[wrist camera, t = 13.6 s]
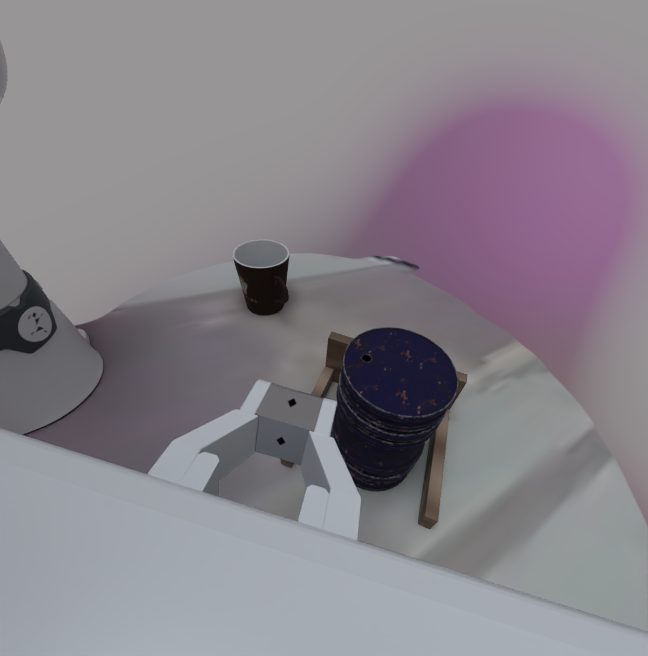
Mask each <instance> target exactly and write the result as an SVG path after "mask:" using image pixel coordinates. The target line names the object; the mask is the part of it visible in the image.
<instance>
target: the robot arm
mask: <svg viewBox="0 0 648 656" xmlns="http://www.w3.org/2000/svg"><path fill="white" fill-rule="evenodd" d="M6 86H7V64H6V58H5V55H4V51H3V47H2V44H1V42H0V103H1V101H2V99H3V97H4V93H5V90H6ZM102 372H103V360H102V358H101V356H100V354H99V353H98V352H97V351H96V350H95V349H94V348H93V347H92V346H91V345H90V340H89V336H88V334H87V333H86V332H85V331H84V330H82V329H76V327H75V326H74V325H73V324H72V323H71V322H70V320H69V319H68V318H67V317H66V316H65V315H64V314H63V312H61V310H60V309H59V308H58V307H57V306H56V305H55V304H54V303H53V301H51V300H49V299H48V298H47V296H46V295H45V294H44V292H43V291H42V287H41V286H40V285H39V283H38V282H37V281H36V280H34V279H33V277H32V276H31V275H30V274H29V273H28V272H26V271H24V270H22V269H21V268H20V267H19V265H18V264H17V263H16V261H15V260H14V258H13V257H12V256H11V254H10V253H9V251H8V250H7V249H6V247H5V246H4V244H3V243H2V242H1V241H0V656H648V632H647V631H644V630H641V629H638V628H635V627H631V626H628V625H625V624H622V623H619V622H615V621H612V620H609V619H606V618H603V617H599V616H596V615H593V614H590V613H587V612H584V611H580V610H577V609H574V608H571V607H568V606H564V605H561V604H558V603H555V602H552V601H549V600H545V599H542V598H539V597H536V596H533V595H529V594H526V593H523V592H520V591H517V590H514V589H510V588H507V587H504V586H501V585H498V584H494V583H491V582H488V581H485V580H482V579H479V578H475V577H472V576H469V575H466V574H463V573H460V572H456V571H453V570H450V569H447V568H444V567H440V566H437V565H434V564H431V563H428V562H425V561H421V560H418V559H415V558H412V557H409V556H406V555H402V554H399V553H396V552H393V551H390V550H386V549H383V548H380V547H377V546H374V545H371V544H367V543H364V542H361V541H358V540H357V536H358V526H359V515H360V504H361V497H360V495H359V493H358V491H357V488H356V486H355V484H354V482H353V480H352V477H351V475H350V473H349V471H348V469H347V466H346V464H345V462H344V460H343V457H342V455H341V453H340V451H339V449H338V446H337V444H336V442H335V440H334V438H332V437H330V433H331V429H332V424H333V420H334V415H335V411H336V406H337V401H334V400H330V399H326V398H324V399H323V398H322V397H319V396H315V395H311V394H308V393H304V392H300V391H296V390H293V389H290V388H287V387H284V386H280V385H277V384H274V383H270V382H266V381H263V380H260V379H259V380H258V381H257V382H256V383H255V385H254V386H253V388H252V390H251V391H250V393H249V395H248V396H247V398H246V400H245V401H244V403H243V405H242V406H241V408H240V410H237V409H235V410H233V411H231V412H229V413H227V414H225V415H223V416H221V417H219V418H217V419H215V420H213V421H211V422H209V423H207V424H205V425H203V426H201V427H199V428H197V429H195V430H193V431H191V432H189V433H187V434H185V435H183V436H181V437H179V438H177V439H175V440H173V441H172V442H171V444H170V445H169V446H168V448H167V449H166V450H165V451H164V453H163V454H162V455H161V457H160V458H159V459H158V461H157V462H156V463H155V464H154V466H153V467H152V468H151V470H150V471H149V472H148V474H145V473H142V472H138V471H135V470H132V469H129V468H126V467H123V466H119V465H116V464H113V463H110V462H107V461H103V460H100V459H97V458H94V457H91V456H88V455H84V454H81V453H78V452H75V451H72V450H69V449H65V448H62V447H59V446H56V445H53V444H50V443H46V442H43V441H40V440H37V439H34V438H30V437H27V436H24V435H23V434H25V433H28V432H30V431H33V430H36V429H38V428H41V427H43V426H45V425H47V424H50V423H51V422H53V421H55V420H57V419H59V418H61V417H62V416H64V415H65V414H67V413H68V412H70V411H71V410H73V409H74V408H75V407H77V406H78V405H79V404H80V403H81V402H82V401H83V400H85V399H86V398H87V396H88V395H89V394H90V393H91V392H92V391H93V389H94V388H95V387H96V385H97V384H98V382H99V380H100V378H101V375H102ZM322 401H323V402H322ZM255 452H258V453H262V454H266V455H269V456H273V457H277V458H280V459H283V460H286V461H289V462H292V463H295V464H298V465H301V470H302V474H303V478H304V482H305V486H306V493H305V497H304V500H303V504H302V507H301V511H300V514H299V518H298V521H294V520H291V519H288V518H285V517H281V516H278V515H275V514H272V513H269V512H265V511H262V510H259V509H256V508H253V507H250V506H246V505H243V504H240V503H237V502H234V501H231V500H227V499H224V498H221V497H219V480H220V479H221V478H223V477H224V476H225V475H227V474H228V473H229V472H231V471H232V470H233V469H234V468H236V467H237V466H238V465H240V464H241V463H242V462H244V461H245V460H246V459H247V458H249V457H250V456H251V455H253V454H254V453H255Z"/></svg>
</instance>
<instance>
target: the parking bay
mask: <svg viewBox="0 0 648 656" xmlns="http://www.w3.org/2000/svg"><path fill="white" fill-rule="evenodd" d="M352 340H353V338H350V337H347V336H344V335H341V334H338V333H335V332H331V334H330V336H329V338H328V347H327V356H326V366H325V368H324V370H323V372H322V374H321V376H320V378H319V380H318V382H317V384H316V386H315V388H314V390H313V392H312V394H311V395H315V396H319V397H322V398H323V399H324V397H325V395H326V393H327V391H328V389H329V387H330V385H331V382H332V381H334V382H337V383H338V382H339V376H340V371H341V369H342V364H343V358H344V353H345V351H346V348H347V346H348V345H349V343H350V342H351V341H352ZM456 372H457V371H456ZM457 376H458V389H457V393H456V395H455V397H454V399H453V401H452V402H451V404H450V406H449V407H448V409H447V413H446V414H445V416H444V418H443V420H442V421H441V423H440V425H439V426H438V428H437V430H436V432H435V433H434V434H433V435H432V436H431V438H430V444H429V451H428V458H427V465H426V472H425V478H424V485H423V492H422V499H421V506H420V512H419V519H418V524H420V525H422V526H424V527H427V528H429V529H430V528H432V527H433V526H434V525H435V524H436V523H437V522H438V516H439V506H440V497H441V487H442V478H443V468H444V459H445V449H446V440H447V430H448V421H449V411H450V408H451V407H452V405H453V403H454V402H455V400H456V399H457V397H458V395H459V394H460V392H461V391H462V389H463V388H464V386H465V384H466V383H467V374H464V373H460V372H457ZM322 402H323V401H322ZM281 464H283V465H286V466H288V467H290V468H291V467H292V465H293V463H292V462H289V461H286V460H283V459H281Z"/></svg>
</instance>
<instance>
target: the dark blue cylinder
mask: <svg viewBox="0 0 648 656" xmlns="http://www.w3.org/2000/svg"><path fill="white" fill-rule="evenodd" d="M457 389H458V376H457V372H456V369H455V366H454V364H453V363H452V361H451V359H450V358H449V356H448V355H447V354H446V353H445V352H444V351H443V350H442V349H441V348H440V347H439V346H438V345H437V344H435V343H434V342H433V341H431V340H429V339H428V338H426V337H424V336H422V335H420V334H418V333H415V332H413V331H409V330H406V329H400V328H392V327H383V328H375V329H371V330H368V331H365V332H363V333H361V334H359V335H358V336H356V337H355V338H354V339H353V340H352V341H351V342H350V343H349V345H348V346H347V348H346V351H345V353H344V358H343V364H342V369H341V371H340V376H339V382H338V387H337V404H338V405H337V407H336V411H335V415H334V420H333V424H332V429H331V437H332V438H334V440H335V442H336V444H337V446H338V449H339V451H340V453H341V455H342V457H343V460H344V462H345V464H346V466H347V469H348V471H349V473H350V475H351V477H352V480H353V482H354V484H355V486H357V487H359V488H361V489H364V490H369V491H385V490H388V489H391V488H393V487H395V486H397V485H398V484H399V483H401V482H402V481H403V479H404V478H405V477H406V476H407V474H408V473H409V472H410V470H411V469H412V468H413V467H414V465H415V463H416V462H417V460H418V459H419V457H420V456H421V454H422V451H423V448H424V444H425V441H427V440H428V439H429V438H430V437H431V436H432V435H433V434H434V433H435V432H436V430H437V428H438V426H439V425H440V423H441V421H442V420H443V418H444V416H445V414H446V413H447V409H448V407H449V406H450V404H451V402H452V401H453V399H454V397H455V395H456V393H457Z"/></svg>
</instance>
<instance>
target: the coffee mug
mask: <svg viewBox="0 0 648 656" xmlns="http://www.w3.org/2000/svg"><path fill="white" fill-rule="evenodd" d="M232 255H233V259H234V262H235V266H236V269H237V273H238V276H239V279H240V283H241V286H242V290H243V293H244V296H245V300H246V303H247V307H248V309H249V310H250V311H251V312H253V313H255V314H258V315H271V314H275V313H277V312H278V311H280V310H281V309H282V308H283V305H284V303H286V302H287V301H288V290H287V287H286V280H287V271H288V262H289V250H288V248H287V247H286V246H285V245H283V244H281V243H279V242H276V241H272V240H252V241H248V242H244V243H242V244H240V245H239V246H237V247H236V248H235V249H234V251H233V254H232Z"/></svg>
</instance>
